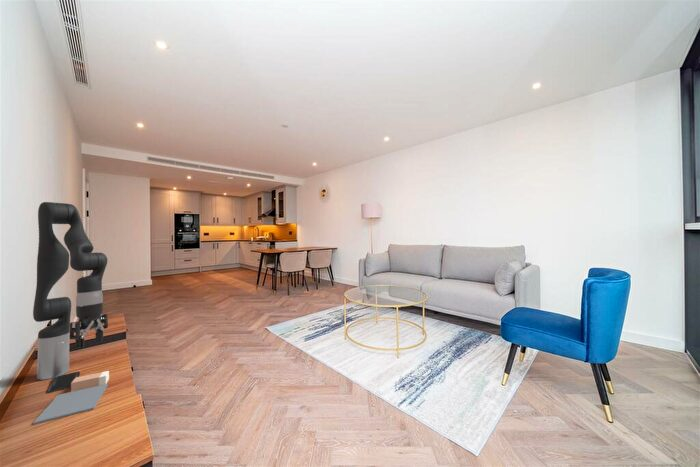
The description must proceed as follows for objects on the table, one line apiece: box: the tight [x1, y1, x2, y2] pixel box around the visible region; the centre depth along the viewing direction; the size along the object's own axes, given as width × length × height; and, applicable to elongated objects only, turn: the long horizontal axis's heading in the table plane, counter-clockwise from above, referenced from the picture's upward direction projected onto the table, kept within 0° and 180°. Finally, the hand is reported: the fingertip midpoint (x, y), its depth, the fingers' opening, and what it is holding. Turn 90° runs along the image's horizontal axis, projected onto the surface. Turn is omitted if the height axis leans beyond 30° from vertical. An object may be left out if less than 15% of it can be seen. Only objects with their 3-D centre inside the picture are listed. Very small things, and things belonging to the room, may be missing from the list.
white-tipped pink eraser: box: [70, 370, 110, 392], centre depth 106 cm, size 10×5×4 cm, turn 121°
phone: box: [47, 371, 81, 394], centre depth 108 cm, size 8×1×15 cm
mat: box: [32, 383, 109, 426], centre depth 94 cm, size 18×14×1 cm
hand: (90, 344), depth 103 cm, fingers open, 8 cm apart
